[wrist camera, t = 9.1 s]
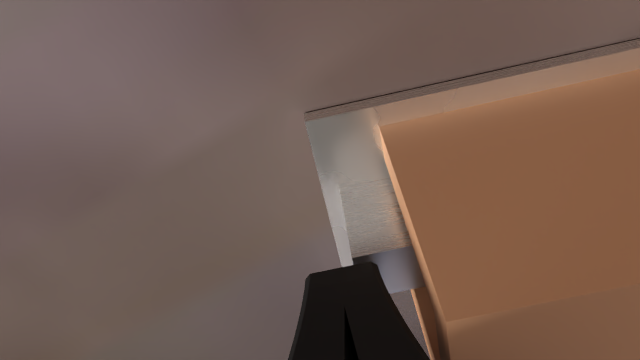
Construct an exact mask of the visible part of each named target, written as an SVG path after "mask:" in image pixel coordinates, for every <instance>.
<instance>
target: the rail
mask: <svg viewBox="0 0 640 360" xmlns="http://www.w3.org/2000/svg"><path fill="white" fill-rule="evenodd" d="M638 69H640V39H637V40H632V41H628V42H623V43H619V44H614V45H610V46H605V47H601V48H596V49H592V50H587V51H583V52H578V53H574V54H569V55H565V56H560V57H556V58H551V59H547V60H542V61H538V62H533V63H529V64H524V65H520V66H515V67H511V68H506V69H502V70H497V71H493V72H488V73H484V74H479V75H475V76H470V77H466V78H461V79H457V80H452V81H448V82H443V83H439V84H434V85H430V86H425V87H421V88H416V89H412V90H407V91H403V92H398V93H394V94H389V95H385V96H380V97H376V98H371V99H367V100H362V101H358V102H353V103H349V104H344V105H340V106H335V107H331V108H326V109H322V110H318V111H313V112H309V113H304V119H305V125H306V129H307V132H308V136H309V140H310V144H311V148H312V152H313V156H314V160H315V164H316V168H317V172H318V175H319V179H320V183H321V187H322V191H323V195H324V199H325V203H326V207H327V211H328V215H329V218H330V222H331V226H332V230H333V234H334V238H335V242H336V246H337V250H338V254H339V258H340V261H341V265H342V267H346V266H351V265H356V264H360V263H365V262H370V261H371V262H373V263H375V264H377V265H378V268H379V271H380V274H381V277H382V279H383V281H384V284H385V286H386V288H387V290H388V292H389V294H391V293H396V292H401V291H406V290H411V289H416V288H421V287H426V285H425V282H424V279H423V276H422V273H421V270H420V267H419V264H418V261H417V258H416V255H415V252H414V248H413V245H412V242H411V239H410V236H409V233H408V230H407V227H406V224H405V221H404V218H403V215H402V212H401V209H400V206H399V202H398V199H397V196H396V193H395V190H394V187H393V184H392V181H391V178H390V175H389V172H388V169H387V166H386V163H385V159H384V153H383V147H382V141H381V135H380V129H379V127H381V126H385V125H390V124H394V123H399V122H403V121H408V120H412V119H417V118H421V117H426V116H430V115H435V114H439V113H444V112H448V111H453V110H457V109H462V108H466V107H471V106H475V105H480V104H484V103H489V102H493V101H498V100H502V99H507V98H511V97H516V96H520V95H525V94H530V93H534V92H539V91H543V90H548V89H552V88H557V87H561V86H566V85H570V84H575V83H579V82H584V81H588V80H593V79H597V78H602V77H606V76H611V75H616V74H620V73H625V72H629V71H634V70H638Z"/></svg>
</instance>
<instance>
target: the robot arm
mask: <svg viewBox="0 0 640 360" xmlns="http://www.w3.org/2000/svg"><path fill="white" fill-rule="evenodd" d="M288 360H430V359H429V358H428V356H427V355H426V353H425V352H424V350H423V349H422V347H421V346H420V344H419V343H418V341H417V340H416V338H415V337H414V335H413V334H412V332H411V331H410V329H409V327H408V326H407V324H406V323H405V321H404V319H403V318H402V316H401V314H400V312H399V311H398V309H397V307H396V305H395V304H394V302H393V300H392V298H391V296H390V294H389V292H388V290H387V288H386V286H385V284H384V281H383V279H382V277H381V274H380V271H379V268H378V265H377V264H375V263H373V262H371V261H370V262H365V263H360V264H356V265H351V266H346V267H341V268H336V269H332V270H327V271H322V272H317V273H312V274H310V275H309V276H308V277H307V278H306V281H305V290H304V296H303V302H302V307H301V312H300V316H299V321H298V325H297V329H296V333H295V337H294V341H293V344H292V347H291V351H290V354H289V358H288Z"/></svg>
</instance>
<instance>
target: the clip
mask: <svg viewBox="0 0 640 360" xmlns="http://www.w3.org/2000/svg"><path fill="white" fill-rule="evenodd" d="M379 129H380V135H381V141H382V147H383V153H384V159H385V163H386V166H387V169H388V172H389V175H390V178H391V181H392V184H393V187H394V190H395V193H396V196H397V199H398V202H399V206H400V209H401V212H402V215H403V218H404V221H405V224H406V227H407V230H408V233H409V236H410V239H411V242H412V245H413V248H414V252H415V255H416V258H417V261H418V264H419V267H420V270H421V273H422V276H423V279H424V282H425V285H426V287H421V288H416V289H411V293H412V296H413V300H414V303H415V307H416V310H417V314H418V317H419V320H420V324H421V327H422V331H423V334H424V338H425V341H426V344H427V348H428V351H429V355H430V358H431V360H640V69H638V70H634V71H629V72H625V73H620V74H616V75H611V76H606V77H602V78H597V79H593V80H588V81H584V82H579V83H575V84H570V85H566V86H561V87H557V88H552V89H548V90H543V91H539V92H534V93H530V94H525V95H520V96H516V97H511V98H507V99H502V100H498V101H493V102H489V103H484V104H480V105H475V106H471V107H466V108H462V109H457V110H453V111H448V112H444V113H439V114H435V115H430V116H426V117H421V118H417V119H412V120H408V121H403V122H399V123H394V124H390V125H385V126H381V127H379Z"/></svg>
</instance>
